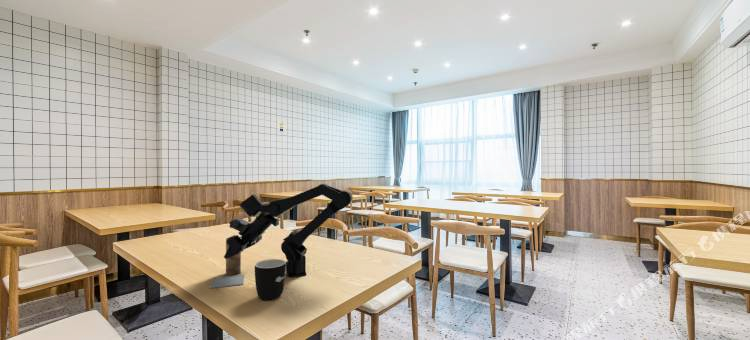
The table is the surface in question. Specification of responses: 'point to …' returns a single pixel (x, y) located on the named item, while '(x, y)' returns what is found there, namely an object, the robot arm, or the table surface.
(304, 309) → the table surface
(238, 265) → the post
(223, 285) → the mat
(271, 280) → the mug
